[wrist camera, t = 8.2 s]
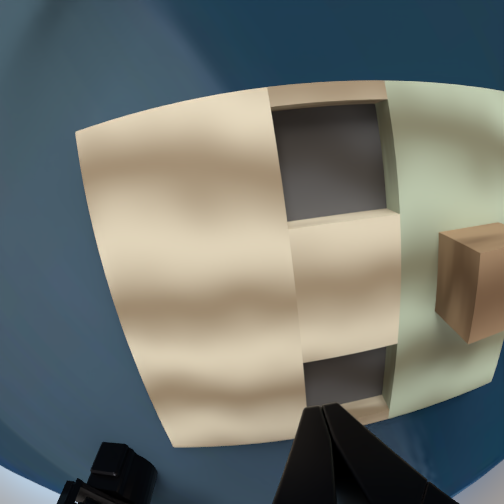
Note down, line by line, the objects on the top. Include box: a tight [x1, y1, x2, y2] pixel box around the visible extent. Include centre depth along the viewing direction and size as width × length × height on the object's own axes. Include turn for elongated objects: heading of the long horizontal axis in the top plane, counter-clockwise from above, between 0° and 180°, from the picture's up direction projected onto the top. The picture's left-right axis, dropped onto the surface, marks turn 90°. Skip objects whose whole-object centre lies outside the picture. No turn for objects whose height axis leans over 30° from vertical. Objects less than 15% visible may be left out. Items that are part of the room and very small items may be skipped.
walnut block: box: [435, 222, 504, 344], centre depth 15 cm, size 5×5×4 cm
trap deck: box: [75, 81, 504, 447], centre depth 18 cm, size 22×26×2 cm
